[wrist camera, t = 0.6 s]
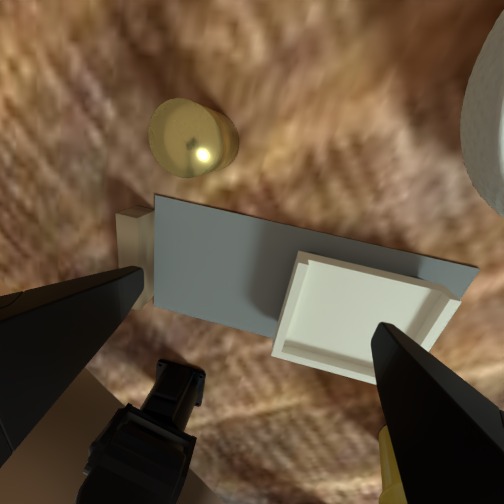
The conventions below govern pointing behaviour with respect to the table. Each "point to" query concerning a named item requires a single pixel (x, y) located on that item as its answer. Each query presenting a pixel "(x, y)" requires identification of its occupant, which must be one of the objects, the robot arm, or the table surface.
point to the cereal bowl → (486, 120)
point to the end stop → (137, 246)
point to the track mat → (258, 264)
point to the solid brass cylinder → (191, 138)
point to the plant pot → (389, 472)
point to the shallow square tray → (354, 313)
